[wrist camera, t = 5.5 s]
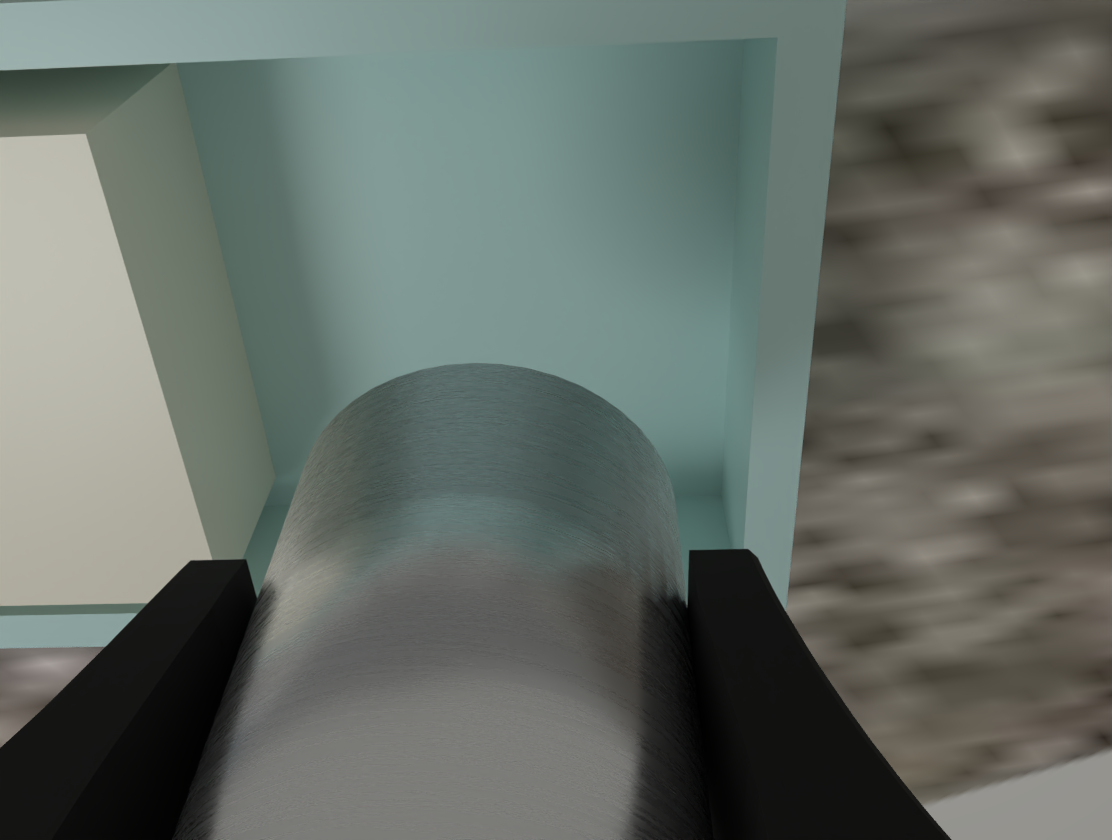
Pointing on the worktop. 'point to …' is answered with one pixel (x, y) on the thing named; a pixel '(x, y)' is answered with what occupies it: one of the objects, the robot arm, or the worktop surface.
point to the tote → (503, 218)
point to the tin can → (466, 631)
